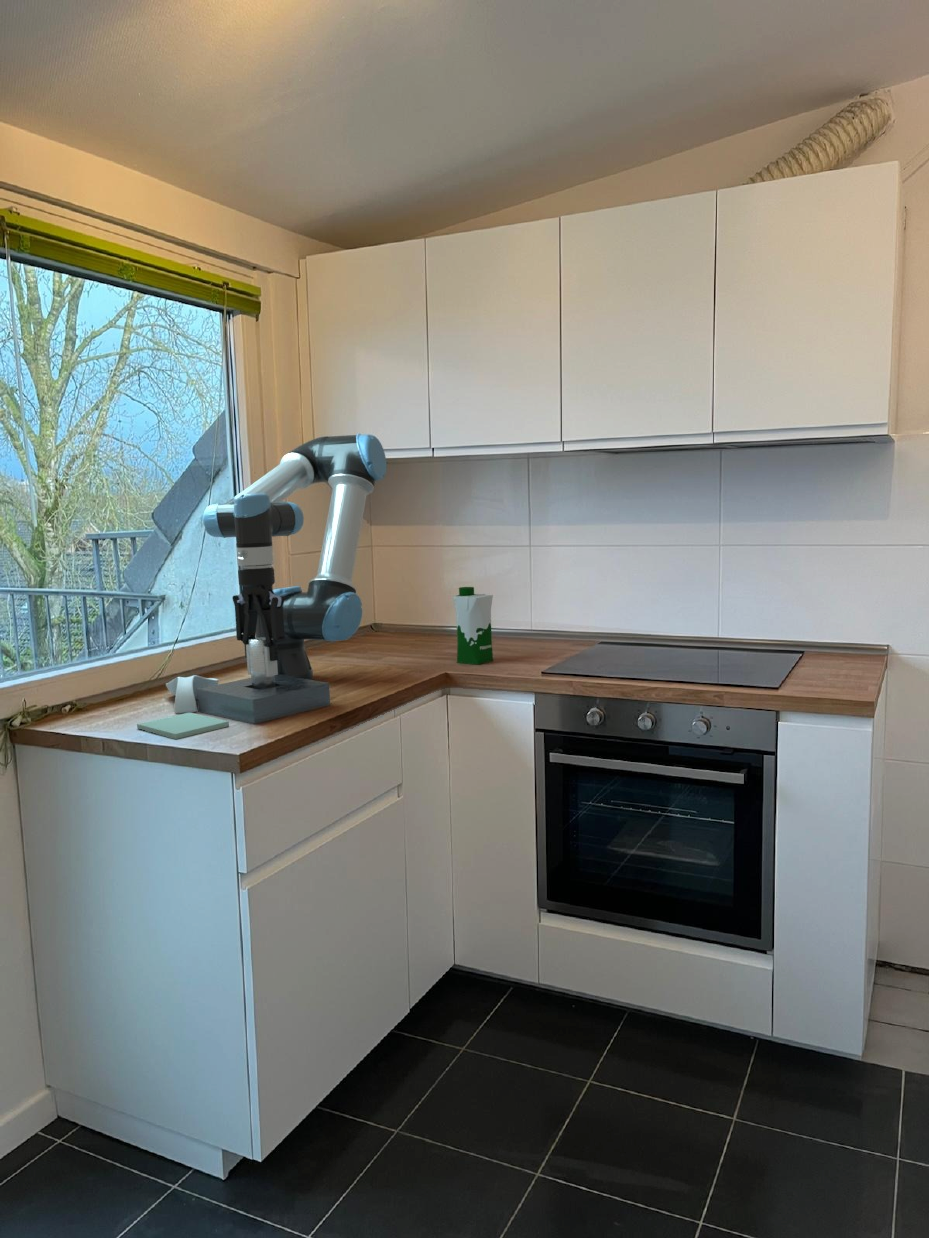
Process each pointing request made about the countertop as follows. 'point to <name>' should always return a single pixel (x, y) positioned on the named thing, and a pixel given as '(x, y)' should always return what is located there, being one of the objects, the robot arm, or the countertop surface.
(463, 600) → the milk carton
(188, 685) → the white curved piece
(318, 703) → the housing
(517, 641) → the countertop surface
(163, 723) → the mat
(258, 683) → the grey tall block
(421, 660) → the countertop surface
